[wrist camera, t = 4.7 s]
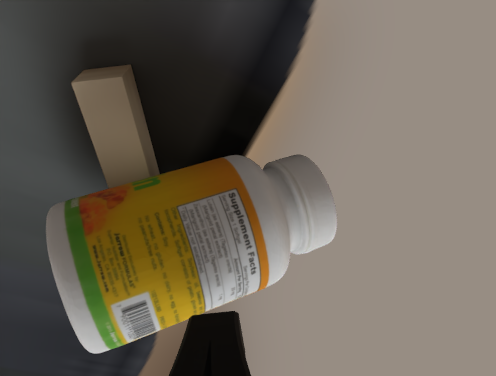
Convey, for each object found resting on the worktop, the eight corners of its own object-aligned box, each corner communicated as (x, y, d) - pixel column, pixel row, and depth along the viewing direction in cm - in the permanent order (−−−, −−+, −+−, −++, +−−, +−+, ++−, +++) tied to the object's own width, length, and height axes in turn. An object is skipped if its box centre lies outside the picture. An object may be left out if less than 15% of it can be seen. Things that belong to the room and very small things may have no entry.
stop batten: (191, 295, 22) (189, 316, 21) (160, 298, 22) (156, 320, 21) (130, 64, 15) (121, 76, 14) (84, 69, 15) (71, 82, 14)
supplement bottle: (62, 212, 16) (270, 153, 19) (99, 337, 16) (305, 258, 19) (27, 197, 11) (318, 119, 14) (81, 380, 11) (367, 262, 14)
